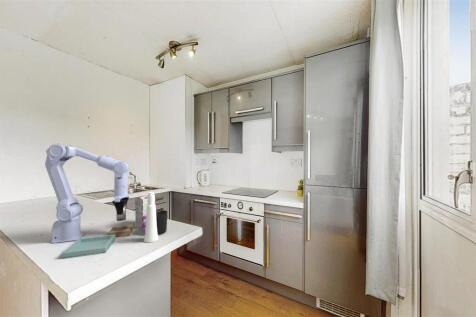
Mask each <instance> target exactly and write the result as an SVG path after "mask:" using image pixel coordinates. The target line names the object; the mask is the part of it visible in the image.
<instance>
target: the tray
mask: <svg viewBox="0 0 476 317" xmlns="http://www.w3.org/2000/svg"><path fill="white" fill-rule="evenodd" d="M116 238H117V237H116V234H114V235H108V234H106V235H99V236H90V237H80V238H79V239H78V240H75V241H74V242H73V243H71V245H70V246H68V247H67V248H66V249H65V250H64V251H63V252H62V253H61V260H63V259H70V258H78V257H84V256H91V255H99V254H106V253H107V251H108V250H109V249H110V247H111V246H112V244H113V243H114V241H115V240H116Z"/></svg>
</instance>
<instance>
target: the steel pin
mask: <svg viewBox="0 0 476 317" xmlns="http://www.w3.org/2000/svg"><path fill="white" fill-rule="evenodd" d="M115 218H116V220H115V221H117V222H123V221H126V220H127V204H125V205H124V210H123V214H122V215H117V212H116V217H115Z"/></svg>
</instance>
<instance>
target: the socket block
mask: <svg viewBox="0 0 476 317" xmlns="http://www.w3.org/2000/svg"><path fill="white" fill-rule="evenodd" d="M133 230H134V224H128V225H127V224H126V225H124V224H123V225H116V226H113V227H111V229H110V230H109V231H108V232H107V235H114V234H116V238H123V237H130V236H131V234H132V232H133Z"/></svg>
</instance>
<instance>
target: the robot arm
mask: <svg viewBox="0 0 476 317" xmlns="http://www.w3.org/2000/svg"><path fill="white" fill-rule="evenodd" d="M45 152H46V158H45V162H44V166H45V169H46V172H47V174H48V177H49V179H50V182H51V185H52V188H53V190H54V194H55V196H56V198H57V205H56V206H55V209H56V214H55V215H56V219H57V220H55V221H54V222H53V224H52V226H51V241H50V244H56V243H66V242H73V241H74V242H76V241H77V240H78V239H79V238H82V236H84V235H85V233H84V232H81V214H82V213H83V211H84V207H83V205H82V204H81V203H80V202H79V200H78V199H77V198H75V197H74V195H73V191H72V188H71V187H70V184H69V181H68V178H67V175H66V172H65V170H64V167H63V166H64V165H65V163H66V162H68V160H71V159H72V158H73V157H79V158H82V159H86V160H89V161H91V162H94V163H96V165H97V166H98V167H100V168H103V169H107V170H109V171H112V172H113V173H114V181H113V182H114V186H113V188H114V195H113V199H114V200H112V204H113V206H114V208H115V211H116V212H117V215H122V214H123V210H124V205H125V204H126V205H127V204H128V202H129V199H130V196H131V194H130V193H129V188H128V187H129V182H128V181H129V180H128V179H129V177H128V175H129V174H128V171H129V169H130V165H129V164H128V163H127V162H125V161H121V160H120V159H115V158H114V157H113V158H112V157H111V155H109V154H106V155H104V154H103V155H98V154H96V153H94V152H91V151H88V150H86V149H83V148H81V147H77V146H74V145H71V144H60V143H54V144H51V145H50V146H49V147H48V148H47V150H45Z"/></svg>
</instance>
